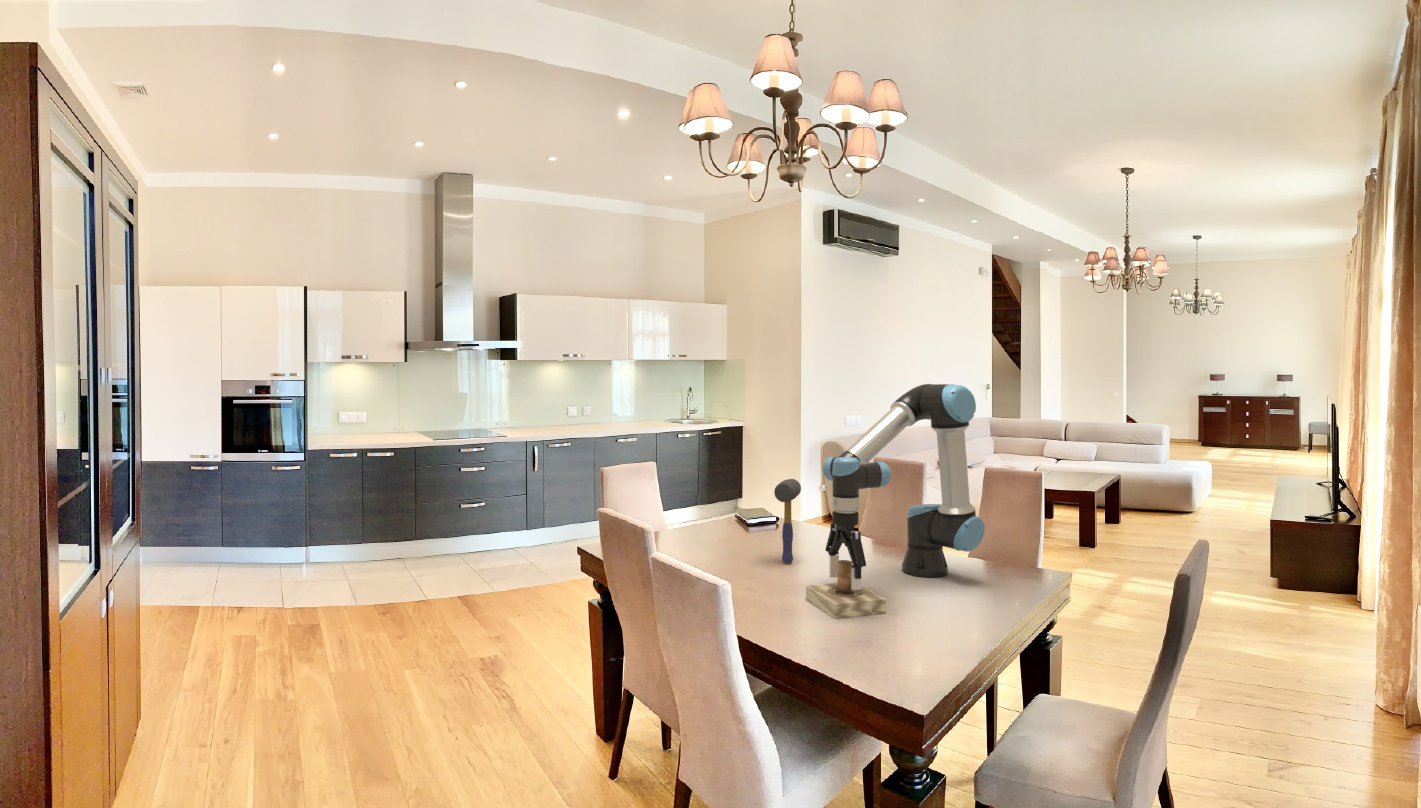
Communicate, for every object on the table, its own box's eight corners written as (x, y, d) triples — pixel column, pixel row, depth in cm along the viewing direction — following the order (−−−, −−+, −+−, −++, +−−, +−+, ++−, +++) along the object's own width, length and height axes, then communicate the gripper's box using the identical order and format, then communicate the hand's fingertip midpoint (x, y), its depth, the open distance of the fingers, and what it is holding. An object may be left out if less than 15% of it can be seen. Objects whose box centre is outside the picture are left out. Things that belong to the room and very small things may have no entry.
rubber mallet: (793, 568, 264) (793, 482, 263) (772, 566, 267) (772, 481, 266) (802, 560, 276) (802, 478, 275) (782, 558, 279) (782, 476, 277)
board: (853, 594, 234) (853, 581, 234) (885, 612, 216) (885, 598, 216) (805, 598, 229) (805, 585, 229) (835, 618, 211) (835, 604, 211)
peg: (847, 602, 226) (847, 559, 225) (854, 607, 221) (855, 563, 221) (834, 604, 224) (834, 560, 224) (841, 608, 220) (841, 564, 219)
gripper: (814, 504, 232) (814, 573, 233) (855, 519, 209) (854, 596, 209) (836, 503, 234) (836, 571, 235) (879, 518, 211) (878, 593, 212)
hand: (844, 583), depth 222 cm, fingers open, 13 cm apart
